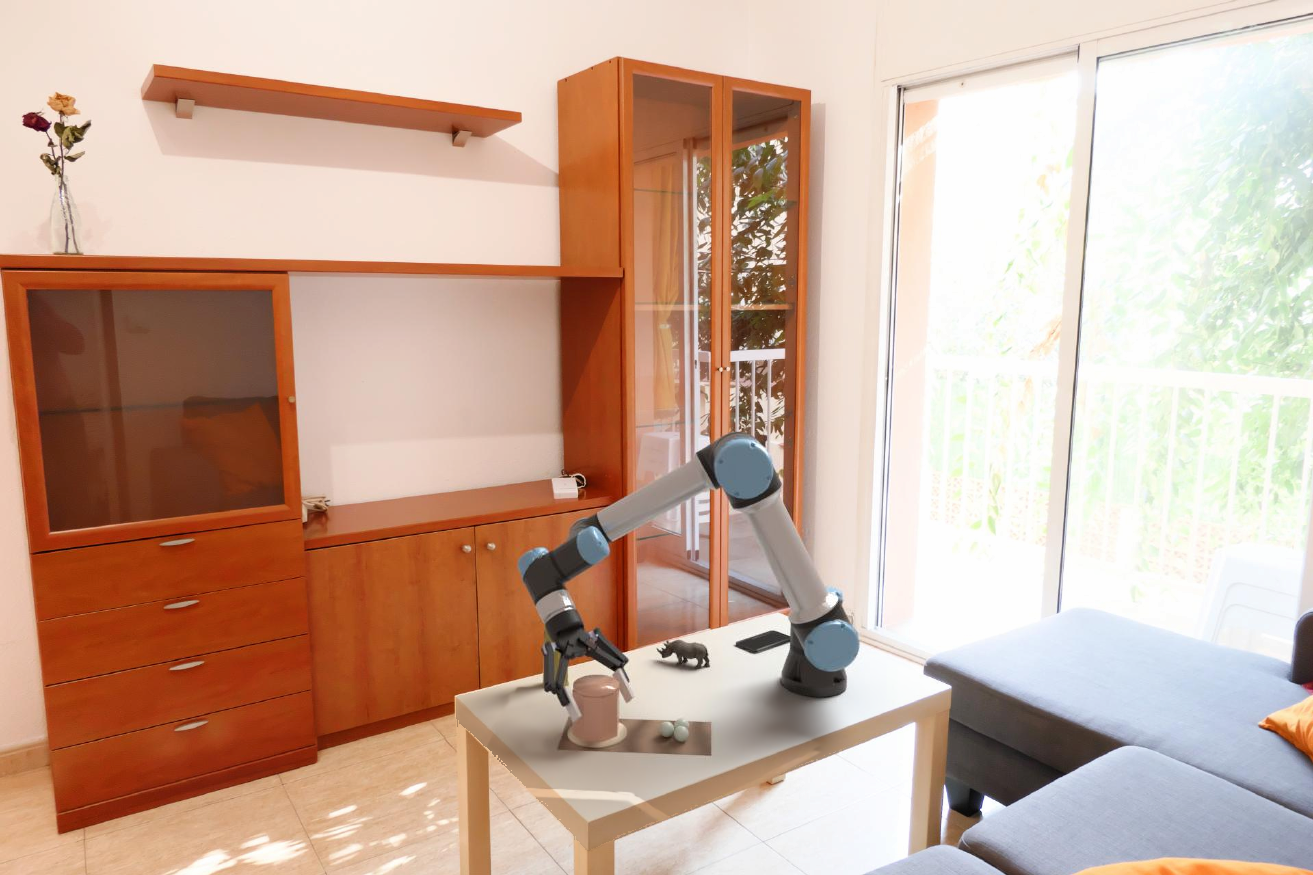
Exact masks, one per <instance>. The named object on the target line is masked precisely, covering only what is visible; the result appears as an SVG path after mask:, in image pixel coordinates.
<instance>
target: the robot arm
mask: <svg viewBox="0 0 1313 875" xmlns="http://www.w3.org/2000/svg"><path fill="white" fill-rule="evenodd" d="M721 488H722V490H723V492H724V494H725V496H726V499H727V500H728V502H729V504H730V506H731V507H732V510H734V511H738V512H740V513H742V514H743V516H744V518H745V520H746V522H747V524H748V525H749V527H750V530H751V532H752V534H753V536H754V538H755V540H756V541H757V544H758V545H759V547H760V550H761V552H762V554H763V556H764V558H765V560H766V561H767V563H768V565H769V568H770V570H771V571H772V574H773V576H774V578H775V580H776V581H777V583H778V586H779V588H780V590H781V592H782V593H783V596H784V598H785V600H786V602H787V603H788V605H789V607H790V611H789V612H788V616H787V618H788V621H789V623H790V628H789V630H790V634H789V636H790V643H789V651H788V653H787V656H786V658H785V662H784V664H783V665H782V670H781V677H780V678H781V680H780V682H781V684H782V686H783V687H784V688H786V689H787V690H788V691H791V692H792V693H796V694H798V695H803V696H808V697H815V698H816V697H817V698H818V697H820V698H821V697H824V698H825V697H832V696H837V695H839V694H842V693H844V691H846V689H847V686H848V675H847V671H846V668H847V667H849V666H850V665H851V664H853V662H854V661H855V659H856V658H857V656H858V654H859V651H860V638H859V637H860V636H859V634H858V631H857V630H856V628H855V627H854V626H853V625H852V623H851V621H850V618H849V616H848V615H847V613H846V610H845V609H844V606H843V603H844V598H843V593H842V591H841V590H840V589H838V588H836V587H832V586H825V584H824V583H823V581H822V578H821V576H820V574H819V572H818V570H817V569H816V567H815V565H814V562H813V560H812V558H811V556H810V554H809V552H808V550H807V549H806V546H805V544H804V542H803V539H802V538H801V535H800V534H799V531H798V530H797V528H796V526H795V524H794V522H793V519H792V517H791V515H790V513H789V512H788V510H787V508H786V505H785V503H784V502H783V499H782V497H781V491H782V488H783V483H782V481H781V479H780V477H779V475H778V472H777V471H776V469H775V467H774V463H773V460H772V457H771V455H770V453H769V451H768V450H767V449H766V447H765V446H764V445H762V444H761V442H760V441H759V440H758V439H757V438H756V437H755V436H753V435H751V434H750V433H749V432H748V433H747V432H743V431H732V432H728V433H726V434H724V435H722V436H720V437H719V438H717V439H715V440H714V441H712V443H710V444H708V445H707V446H705V447H703V448H702V449H700V450H698V451H696V452H694V455H693V458H692V459H691V460H689V461H687V462H686V463H684V464H682V465H680V466H678V467H676V468H675V469H673V470H671V471H670V472H668V473H666V474H664V475H662V476H660V477H659V478H657V479H655V480H653V481H652V482H650V483H648V484H646V485H645V486H643V487H641V488H639V489H637V490H635V491H633V492H632V493H630V494H628V495H626V496H624V497H623V498H621V499H619V500H617V501H616V502H614V503H612V504H610V505H608V506H607V507H605V508H603V509H601V510H599V511H598V512H596V513H594V514H592V515H590V516H589V517H582V518H580V519H578V520H576V521H575V522H574V523H573V524H572V526H571V527H570V529H569V532H568V536H567V537H566V541H564V542H562V543H561V544H560V545H558V546H556V547H555V548H553V549H552V550H550V551H549V550H548V548H546V547H540V546H539V547H535V548H533V549H531V550H528V551H527V552H525V553H523V554H522V555H521V557H520V558H519V559H518V561H517V569H518V571H519V574H520V576H521V580H522V582H523V584H524V586H525V587H526V590H527V592H528V594H529V596H530V597H531V600H532V602H533V604H534V606H535V609H536V611H537V613H538V615H539V617H540V619H541V621H542V623H543V624H545V625H544V626H545V628H546V631H547V633H548V635H549V637H550V639H551V640H552V641H553V643H550V642H549V641H547V642H546V643H545V644H544V643H543V645H542V646H541V649H540V650H541V653H542V657H543V656H544V688H543V690H544V692H545V693H550V692H551V694H552V695H556V696H557V700H558V701H559V703H560V705H561V706H562V708H564V707H565V709H566V711H567V714H568V716H569V717H570V718H571V720H572V722H573V723H574V722H576V721H577V720H578V719H579V718H580V717H581V716H582V715H581V713H580V711H579V709H578V707H577V704H576V702H575V700H574V698H573V696H572V692H571V690H570V687H569V685H568V686H565V687H564V688H563V685H564V681H565V677H566V672H567V668H568V667H569V664H570V661H573V660H575V659H577V658H583V657H584V656H585V657H587V658H591V659H593V660H595V661H596V662H598V663H600V664H601V665H602V666H604V667H606V668H608V669H609V670H610V671H612V672H613V673H612V675H611V677H613V678H615V679H616V680H617V681H618V682H619V693H620V694H621V695H622V698H623V700H624V702H625V704H628V703H630V702H631V701H632V700H633V699H634V698H635V697H636V696H635V694H634V692H633V690H632V688H631V686H630V684H629V683H630V678H629V676H628V674H627V672H626V670H625V666H626V665H627V664H628V663H629V662H630V659H629V658H628V657H627V656H626V655H625V654H624V653H623V652H622V651H621V650H619V648H618V647H617V646H616V645H614V644H613V643H612V641H610V640H609V639H608V638H606V636H605V635H604V634H603V632H602V631H601V628H599V627H597V626H596V627H595V628H594V629H593V630H590V632H588V631H587V630H586V628H585V625H584V621H583V619H582V617H581V614H580V613H579V612H578V610H577V609H576V605H575V602H574V600H573V599H572V597H571V595H570V592H569V590H568V589H567V587H566V583H568V582H570V581H571V580H573V579H574V578H576V577H578V576H579V575H581V574H583V573H584V572H586V571H587V570H589V569H590V568H592V567H594V566H595V565H598V564H599V563H600V562H601V561H603V560H604V559H605V558H607V557H608V556H610V553H611V548H610V547H609V544H611V543H612V542H614V541H617V540H618V539H619V538H623V537H624V536H626V535H627V534H629V533H631V532H633V531H635V530H637V529H638V528H640V527H642V526H644V525H646V524H647V523H649V522H651V521H653V520H655V519H656V518H658V517H661V516H662V515H664V514H666V513H667V512H669V511H671V510H673V509H675V508H676V507H678V506H680V505H682V504H684V503H686V502H687V501H689V500H691V499H693V498H694V497H696V496H699V495H701V494H702V493H703V492H706V491H708V490H713V491H716V490H718V489H721ZM555 650H556V651H558V652H559V653H560V654H561V655H560V659H559V666H558V670H557V674H556V678H555V681H554V651H555ZM568 669H569V668H568Z"/></svg>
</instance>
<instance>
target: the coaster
mask: <svg viewBox="0 0 1313 875" xmlns="http://www.w3.org/2000/svg"><path fill="white" fill-rule="evenodd" d="M626 736H627V729H626V727H625V726H624V725H623V724H621V723H619V730H618V735H617V736H616V737H614V738H611V739H609V740H606V741H604V742H588V741H582V740H581V739H579V738H578V737H576V736H574V735H573V725H572V726H571V727H570V728H569V730H568V738H569V740H570V741H571V742H573V743H574V744H576V745H578V746H582V747H586V748H606V747H610V746H614V745H617V744H619V743H620V742H622V741H623V740H624V739H625V738H626Z"/></svg>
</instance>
